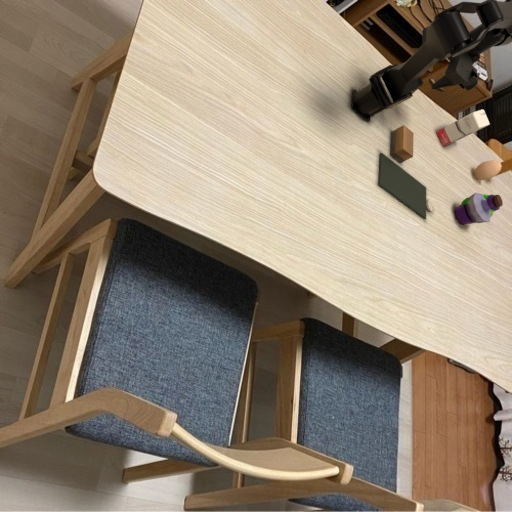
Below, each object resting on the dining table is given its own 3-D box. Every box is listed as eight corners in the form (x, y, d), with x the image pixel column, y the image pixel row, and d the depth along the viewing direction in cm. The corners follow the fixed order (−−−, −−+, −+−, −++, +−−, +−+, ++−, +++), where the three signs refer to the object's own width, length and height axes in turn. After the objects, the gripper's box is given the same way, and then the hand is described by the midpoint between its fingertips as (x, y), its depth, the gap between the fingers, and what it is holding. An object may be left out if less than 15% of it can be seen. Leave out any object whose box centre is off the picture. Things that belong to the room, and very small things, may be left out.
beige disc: (426, 207, 147) (428, 206, 146) (426, 198, 148) (428, 197, 148) (430, 213, 149) (433, 213, 148) (430, 204, 150) (433, 203, 150)
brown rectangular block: (390, 155, 145) (403, 148, 142) (391, 132, 149) (403, 124, 146) (400, 163, 146) (413, 156, 144) (401, 140, 150) (413, 133, 148)
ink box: (443, 147, 165) (480, 128, 157) (435, 131, 165) (472, 111, 157) (454, 142, 171) (491, 124, 163) (447, 127, 171) (483, 108, 163)
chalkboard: (378, 185, 137) (380, 184, 136) (379, 153, 142) (381, 152, 141) (424, 219, 145) (426, 218, 145) (424, 188, 150) (426, 187, 150)
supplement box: (485, 180, 176) (516, 167, 169) (481, 170, 177) (512, 156, 170) (489, 179, 179) (520, 166, 172) (485, 169, 179) (516, 155, 172)
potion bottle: (450, 196, 158) (490, 178, 150) (468, 210, 163) (508, 194, 154) (450, 221, 154) (492, 205, 146) (469, 236, 158) (510, 220, 150)
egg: (481, 185, 174) (507, 174, 168) (472, 182, 170) (498, 170, 165) (477, 169, 175) (502, 157, 169) (468, 166, 172) (494, 154, 166)
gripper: (454, 39, 122) (395, 78, 133) (502, 89, 132) (443, 121, 143) (453, 6, 128) (396, 46, 139) (499, 56, 137) (442, 89, 148)
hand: (420, 77), depth 142 cm, fingers open, 9 cm apart
